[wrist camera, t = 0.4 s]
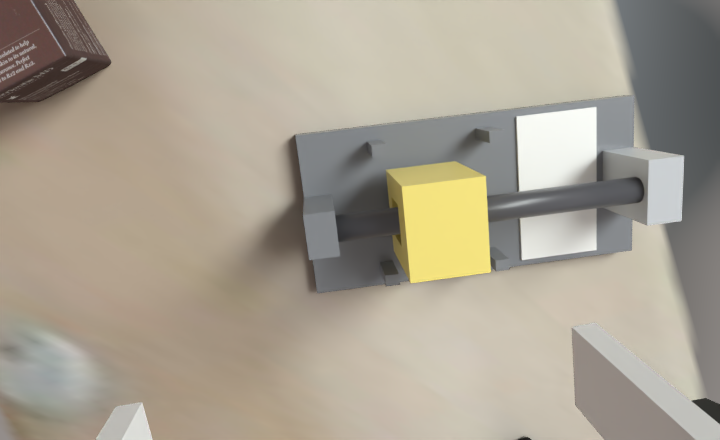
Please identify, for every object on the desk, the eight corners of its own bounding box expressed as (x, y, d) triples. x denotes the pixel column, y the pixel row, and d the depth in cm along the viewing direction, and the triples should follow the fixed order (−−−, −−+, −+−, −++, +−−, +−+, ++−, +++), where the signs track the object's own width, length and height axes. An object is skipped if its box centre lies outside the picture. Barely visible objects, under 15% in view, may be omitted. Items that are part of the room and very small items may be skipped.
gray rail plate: (295, 134, 39) (292, 143, 32) (624, 95, 40) (686, 96, 34) (317, 287, 42) (318, 324, 35) (623, 246, 43) (679, 274, 37)
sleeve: (385, 169, 37) (401, 186, 31) (455, 161, 38) (485, 176, 31) (393, 250, 39) (410, 283, 32) (460, 241, 39) (490, 272, 33)
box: (38, 103, 37) (-28, 107, 30) (-17, 20, 35) (-100, 3, 28) (115, 63, 37) (67, 57, 29) (64, -22, 35) (1, -51, 28)
